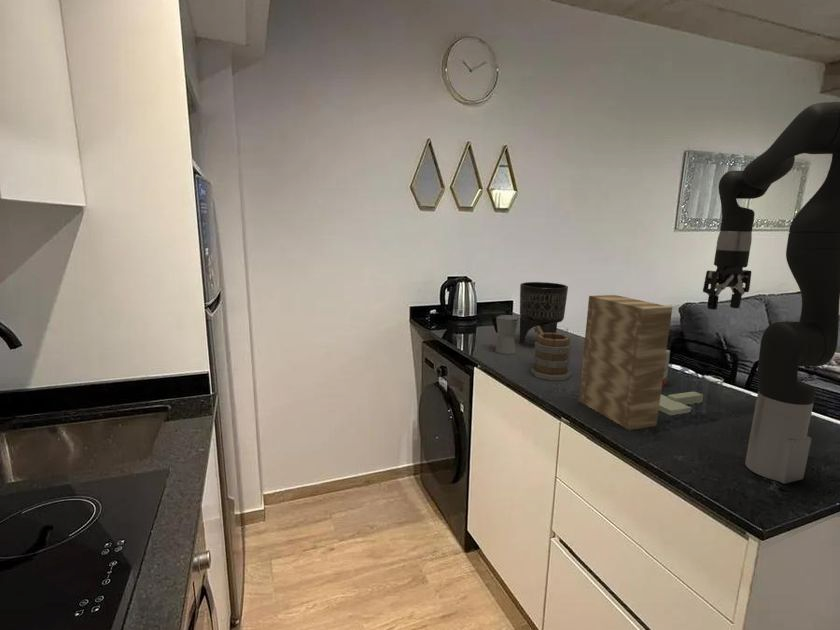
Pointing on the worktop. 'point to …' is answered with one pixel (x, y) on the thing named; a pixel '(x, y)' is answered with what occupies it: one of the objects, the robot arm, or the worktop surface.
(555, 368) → the tankard
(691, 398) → the sage mallet
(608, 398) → the wooden crate
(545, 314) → the planter
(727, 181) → the robot arm
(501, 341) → the coffee maker
